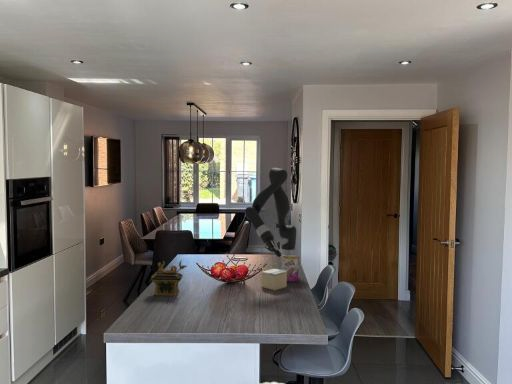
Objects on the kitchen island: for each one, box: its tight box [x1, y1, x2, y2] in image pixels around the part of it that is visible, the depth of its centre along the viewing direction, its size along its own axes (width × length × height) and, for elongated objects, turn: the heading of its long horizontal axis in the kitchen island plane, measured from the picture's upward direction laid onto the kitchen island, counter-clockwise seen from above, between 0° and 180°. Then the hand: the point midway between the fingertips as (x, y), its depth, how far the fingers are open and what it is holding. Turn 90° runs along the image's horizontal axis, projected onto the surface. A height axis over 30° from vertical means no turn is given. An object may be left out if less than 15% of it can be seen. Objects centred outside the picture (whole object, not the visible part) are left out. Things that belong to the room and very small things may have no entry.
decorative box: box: [150, 260, 188, 297], centre depth 267 cm, size 20×10×20 cm, turn 91°
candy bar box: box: [280, 254, 300, 283], centre depth 304 cm, size 11×5×16 cm, turn 84°
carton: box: [261, 272, 288, 291], centre depth 287 cm, size 12×10×9 cm
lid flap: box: [261, 268, 287, 275], centre depth 287 cm, size 12×10×1 cm
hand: (280, 256), depth 284 cm, fingers closed
